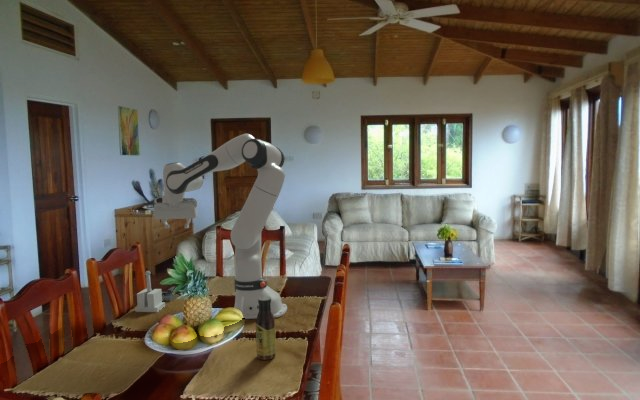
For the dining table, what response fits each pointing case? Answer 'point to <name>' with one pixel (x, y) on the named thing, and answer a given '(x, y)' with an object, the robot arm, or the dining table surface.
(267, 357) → the sauce bottle
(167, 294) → the dark grey flat block
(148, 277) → the grey post holder
